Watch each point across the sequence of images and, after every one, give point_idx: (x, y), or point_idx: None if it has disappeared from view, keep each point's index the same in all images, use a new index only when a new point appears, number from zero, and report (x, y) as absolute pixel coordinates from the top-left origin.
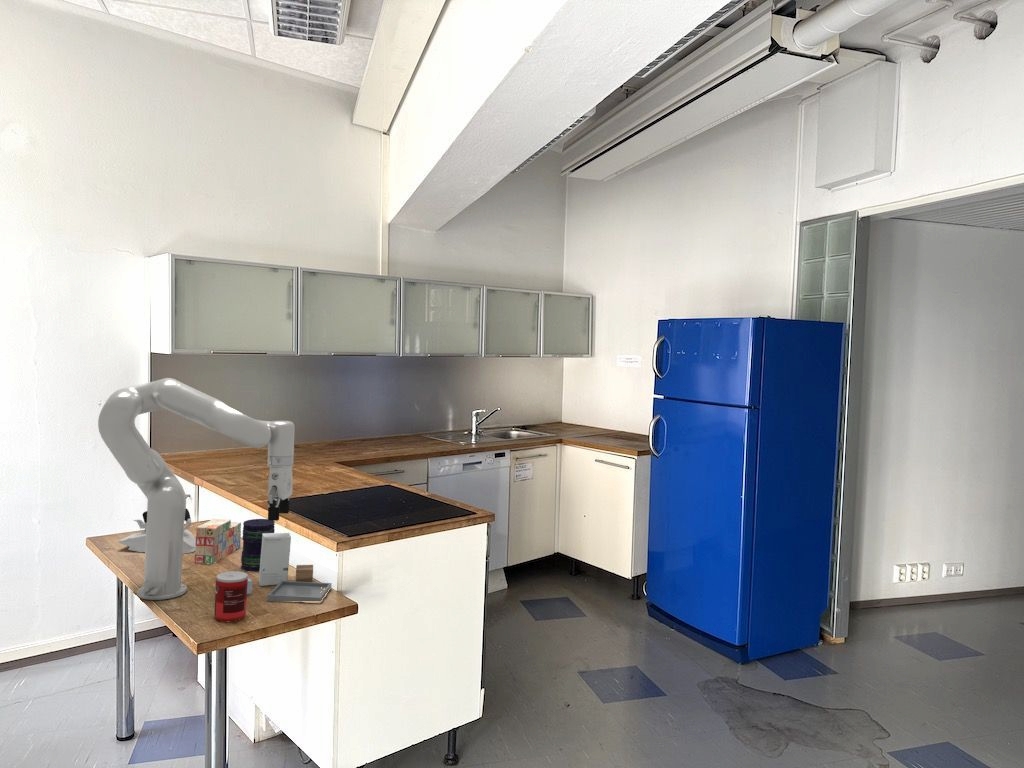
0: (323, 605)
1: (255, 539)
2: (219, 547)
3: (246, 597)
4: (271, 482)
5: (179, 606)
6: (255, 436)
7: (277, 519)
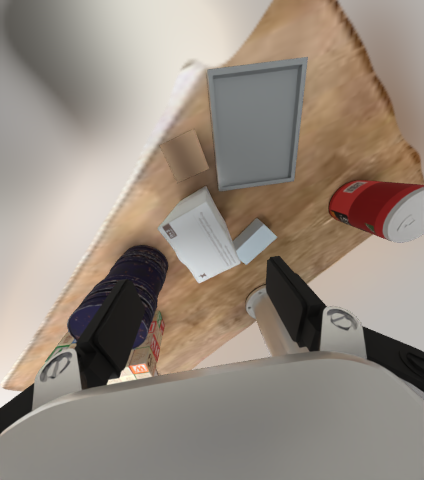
0: (306, 53)
1: (153, 295)
2: None
3: (379, 183)
4: None
5: (307, 268)
6: None
7: (279, 260)
